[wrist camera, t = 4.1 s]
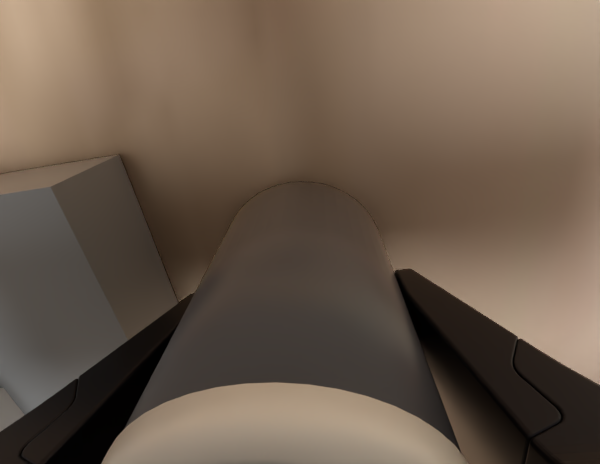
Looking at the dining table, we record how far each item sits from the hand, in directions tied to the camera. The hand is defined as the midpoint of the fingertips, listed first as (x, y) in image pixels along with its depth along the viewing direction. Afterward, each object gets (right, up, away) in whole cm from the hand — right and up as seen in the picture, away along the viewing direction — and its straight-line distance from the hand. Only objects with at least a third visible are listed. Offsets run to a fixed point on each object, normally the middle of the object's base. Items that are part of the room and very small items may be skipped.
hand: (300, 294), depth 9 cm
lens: (0, +1, +2) cm, 2 cm away
